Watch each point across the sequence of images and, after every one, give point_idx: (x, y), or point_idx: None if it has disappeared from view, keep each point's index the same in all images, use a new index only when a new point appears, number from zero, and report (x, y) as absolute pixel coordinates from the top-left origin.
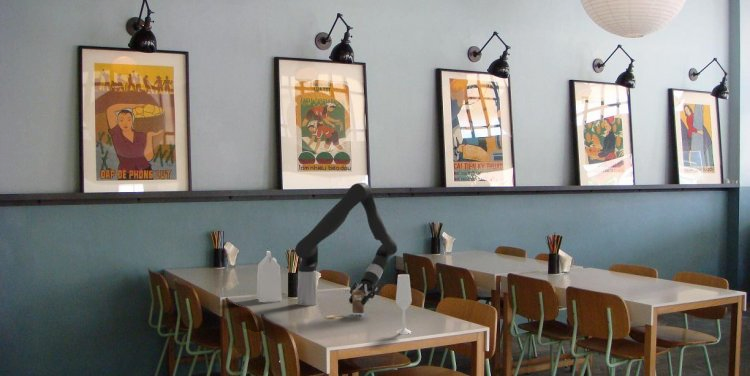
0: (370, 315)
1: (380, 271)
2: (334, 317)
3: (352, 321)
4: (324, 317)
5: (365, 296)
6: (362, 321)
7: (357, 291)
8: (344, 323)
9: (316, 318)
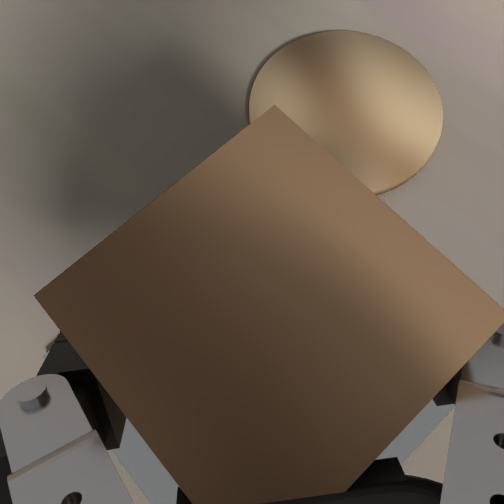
0: (133, 459)
1: None
2: (322, 99)
3: (93, 137)
4: (385, 42)
5: (57, 373)
6: (15, 199)
7: (179, 194)
8: (87, 44)
9: (435, 13)
